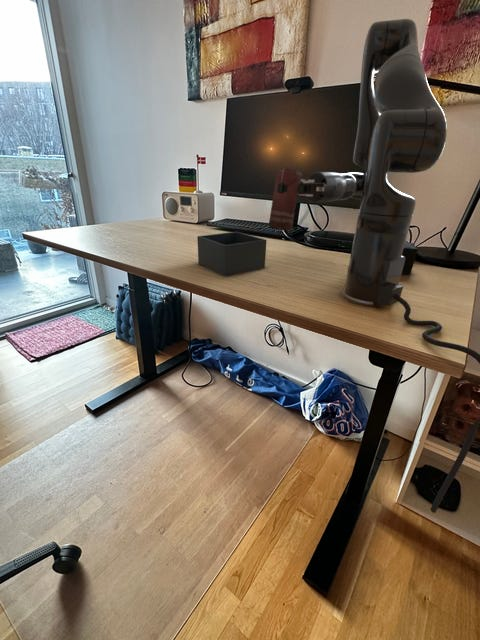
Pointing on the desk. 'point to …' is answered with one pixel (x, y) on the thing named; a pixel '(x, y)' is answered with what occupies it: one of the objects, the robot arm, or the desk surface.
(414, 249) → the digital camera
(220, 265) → the bin
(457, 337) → the desk surface
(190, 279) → the desk surface
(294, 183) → the can
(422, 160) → the robot arm
